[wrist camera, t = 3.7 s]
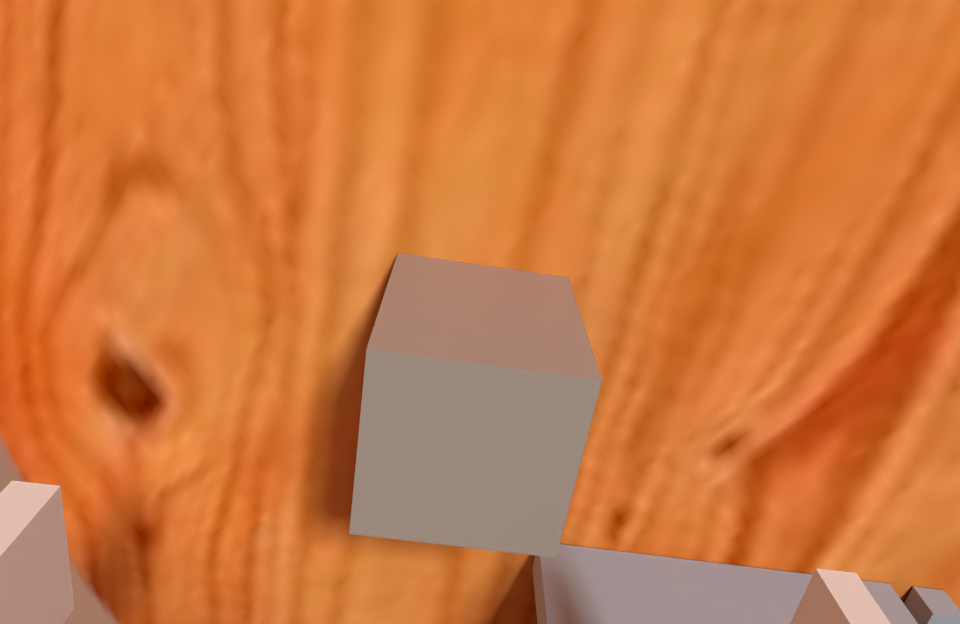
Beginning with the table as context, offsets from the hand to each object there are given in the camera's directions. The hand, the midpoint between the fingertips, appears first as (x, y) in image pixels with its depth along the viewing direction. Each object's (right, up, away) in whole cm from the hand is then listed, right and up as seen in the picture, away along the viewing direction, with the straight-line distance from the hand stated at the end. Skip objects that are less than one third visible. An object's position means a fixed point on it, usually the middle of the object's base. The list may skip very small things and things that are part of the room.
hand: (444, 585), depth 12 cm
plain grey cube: (0, +4, +9) cm, 10 cm away
